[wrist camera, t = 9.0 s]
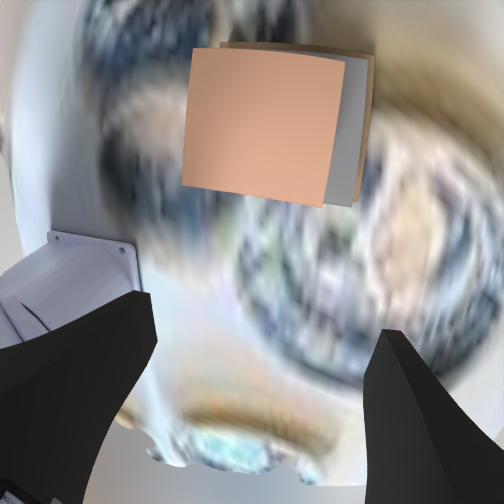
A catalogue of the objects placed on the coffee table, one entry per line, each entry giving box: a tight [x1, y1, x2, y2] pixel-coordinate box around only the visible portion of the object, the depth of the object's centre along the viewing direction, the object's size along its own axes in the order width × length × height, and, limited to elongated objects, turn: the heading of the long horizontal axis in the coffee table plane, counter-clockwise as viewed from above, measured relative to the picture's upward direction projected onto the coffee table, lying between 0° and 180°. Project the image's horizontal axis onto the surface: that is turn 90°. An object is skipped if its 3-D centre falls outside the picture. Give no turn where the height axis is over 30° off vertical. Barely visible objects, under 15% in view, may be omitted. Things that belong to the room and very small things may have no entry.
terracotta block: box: [182, 48, 345, 208], centre depth 11 cm, size 4×4×5 cm
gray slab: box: [207, 49, 368, 207], centre depth 14 cm, size 7×7×2 cm
